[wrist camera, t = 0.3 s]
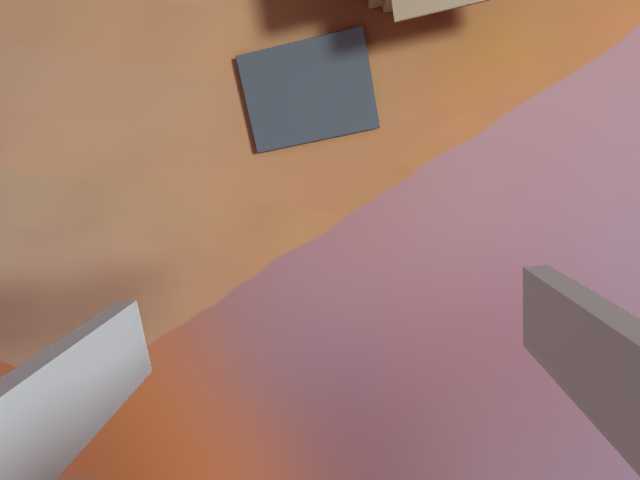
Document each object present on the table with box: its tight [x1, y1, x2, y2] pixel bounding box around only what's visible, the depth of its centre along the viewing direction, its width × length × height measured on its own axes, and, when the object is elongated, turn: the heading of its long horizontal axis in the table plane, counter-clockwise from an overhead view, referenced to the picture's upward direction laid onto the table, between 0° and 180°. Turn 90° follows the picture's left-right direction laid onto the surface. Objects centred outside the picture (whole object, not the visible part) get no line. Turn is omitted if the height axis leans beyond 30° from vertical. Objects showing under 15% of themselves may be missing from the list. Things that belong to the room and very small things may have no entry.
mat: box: [236, 26, 380, 153], centre depth 38 cm, size 9×12×1 cm
